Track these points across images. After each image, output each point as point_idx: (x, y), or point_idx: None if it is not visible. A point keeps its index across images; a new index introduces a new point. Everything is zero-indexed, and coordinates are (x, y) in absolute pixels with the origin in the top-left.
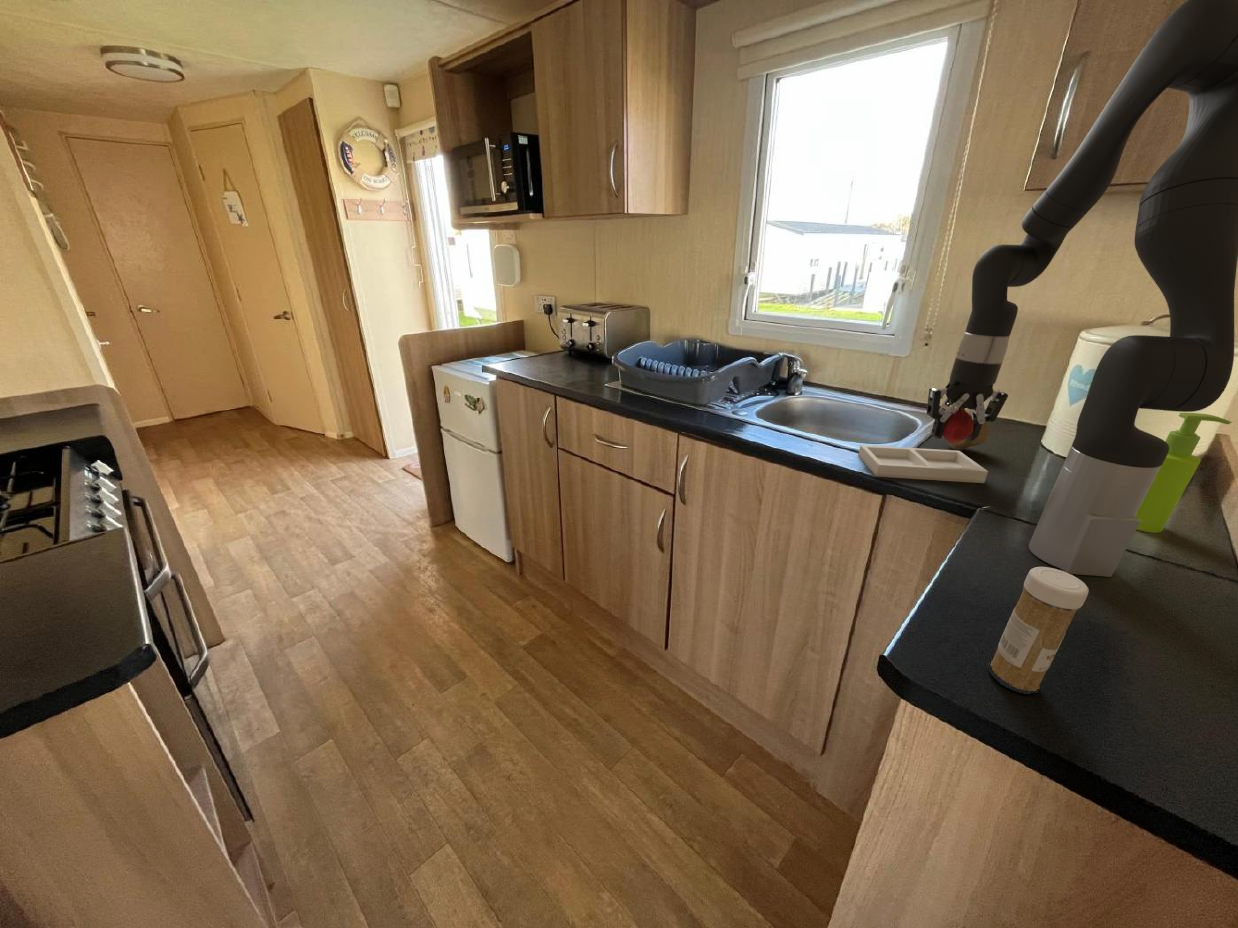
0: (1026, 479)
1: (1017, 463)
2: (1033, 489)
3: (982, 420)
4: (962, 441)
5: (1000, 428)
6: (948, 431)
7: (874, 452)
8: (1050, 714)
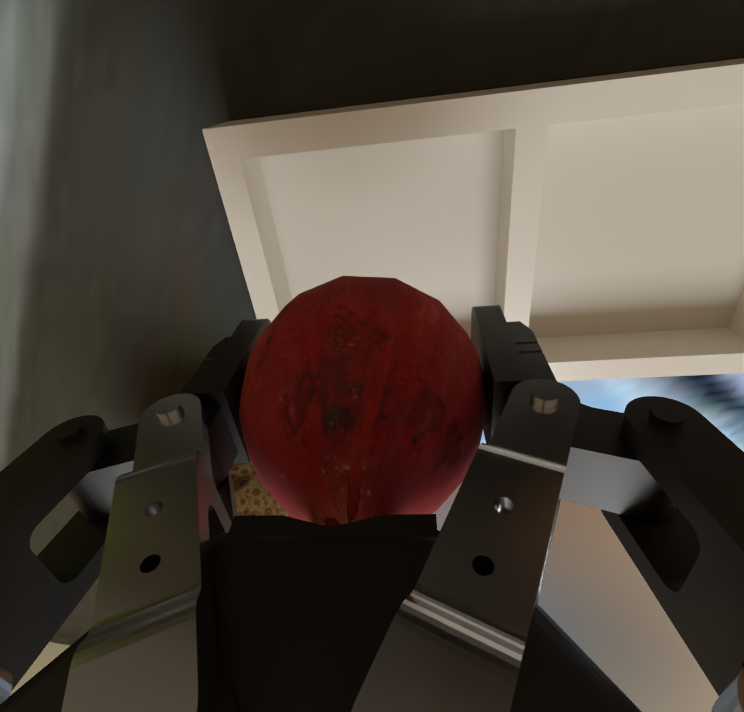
0: (35, 231)
1: (63, 390)
2: (6, 102)
3: (165, 415)
4: (246, 465)
5: None
6: (453, 322)
7: (690, 338)
8: None
